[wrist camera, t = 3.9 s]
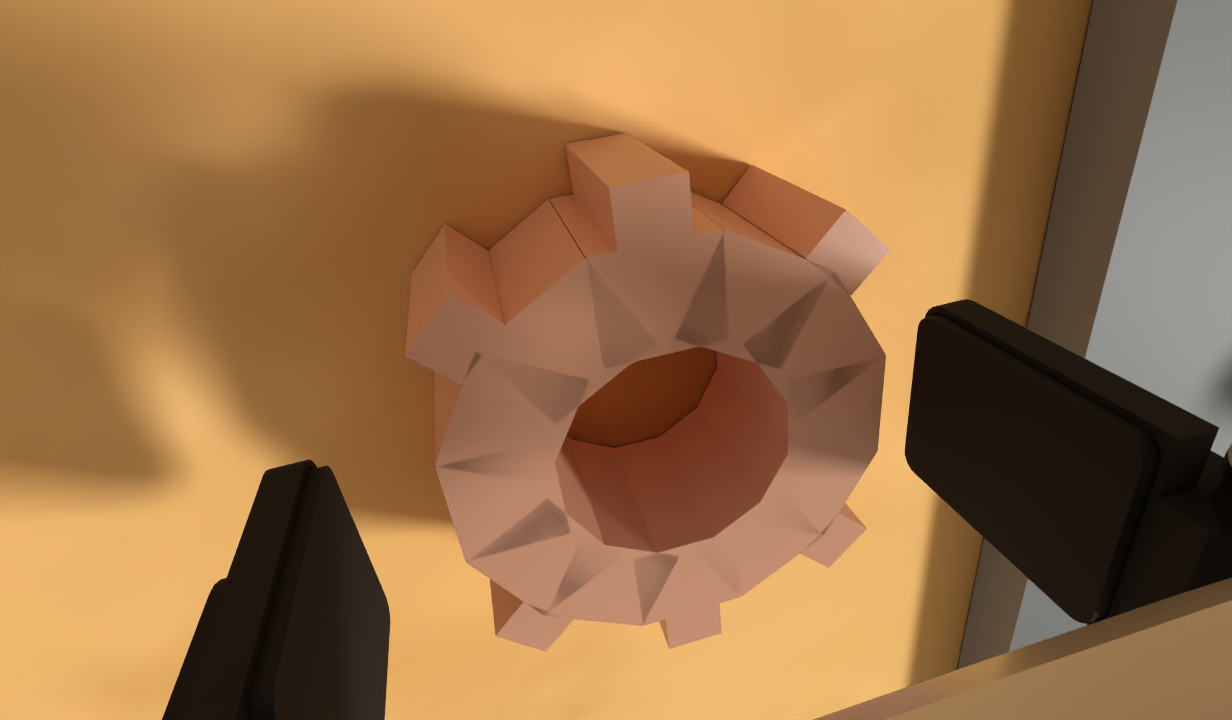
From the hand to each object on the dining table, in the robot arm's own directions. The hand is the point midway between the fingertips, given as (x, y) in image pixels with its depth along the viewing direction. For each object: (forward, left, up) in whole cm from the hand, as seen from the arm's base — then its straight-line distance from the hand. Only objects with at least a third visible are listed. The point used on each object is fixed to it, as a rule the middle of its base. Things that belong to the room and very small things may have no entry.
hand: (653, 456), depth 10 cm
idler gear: (0, 0, -3) cm, 3 cm away
